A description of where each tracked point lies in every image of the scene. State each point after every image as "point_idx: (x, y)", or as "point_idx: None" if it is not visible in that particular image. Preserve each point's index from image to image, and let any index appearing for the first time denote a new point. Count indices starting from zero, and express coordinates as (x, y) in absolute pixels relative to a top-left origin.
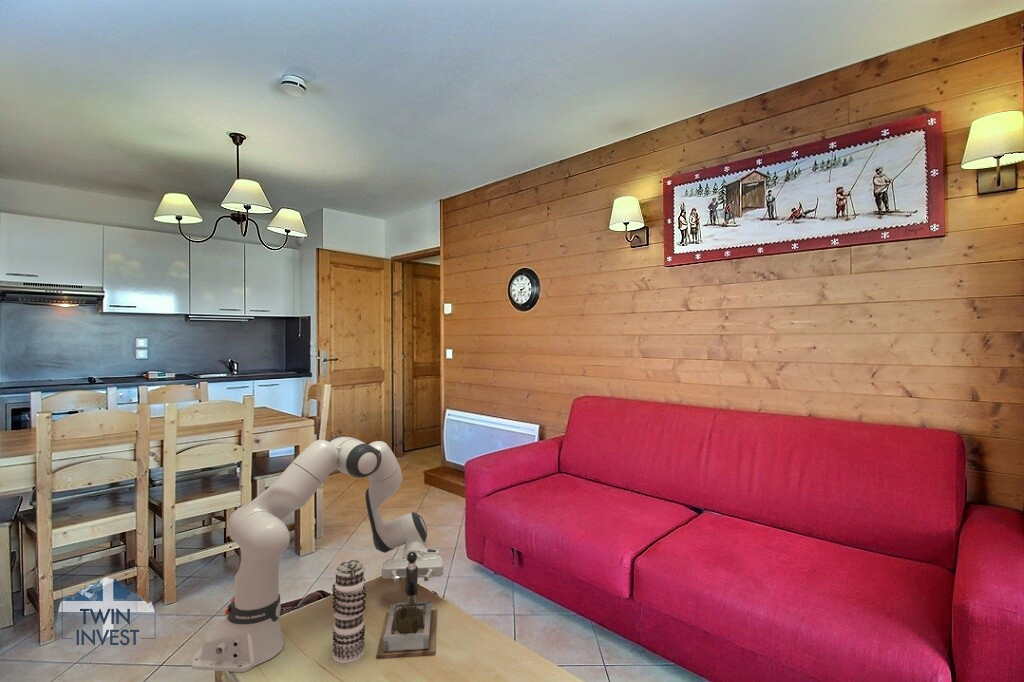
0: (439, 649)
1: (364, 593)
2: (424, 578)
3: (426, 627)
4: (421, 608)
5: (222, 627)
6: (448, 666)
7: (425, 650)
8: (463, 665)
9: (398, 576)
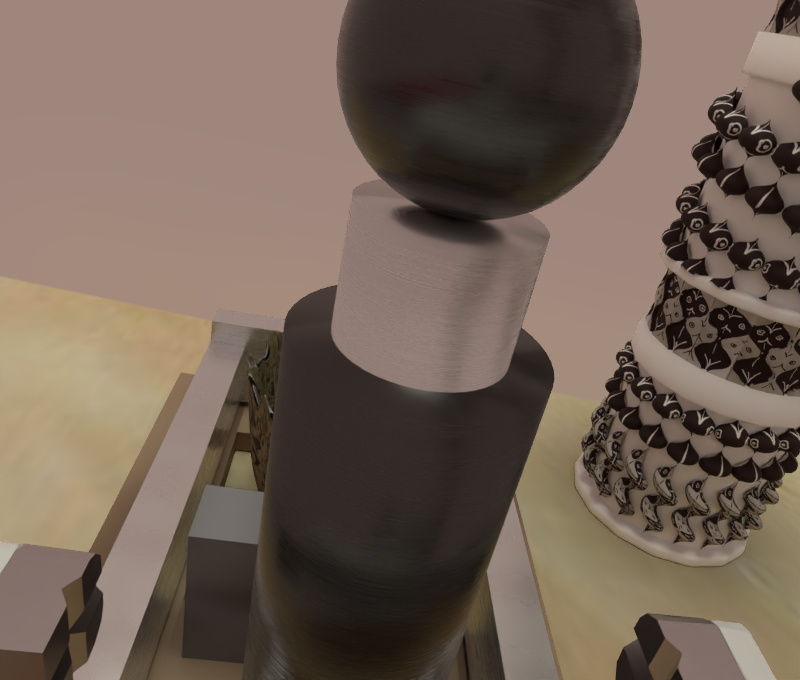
0: (138, 415)
1: (731, 167)
2: (94, 576)
3: (210, 394)
4: (220, 498)
5: None
6: (136, 330)
7: None
8: (61, 318)
9: (674, 636)
